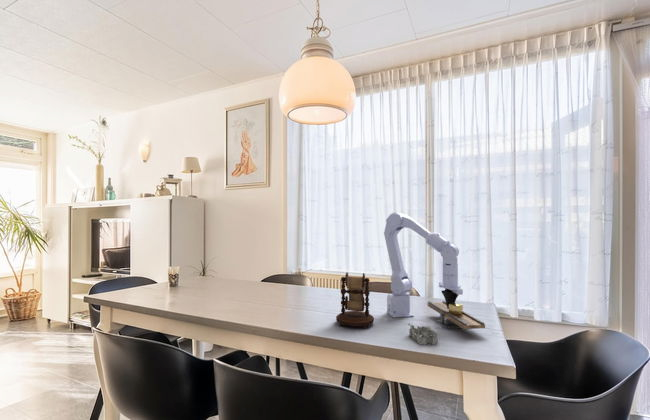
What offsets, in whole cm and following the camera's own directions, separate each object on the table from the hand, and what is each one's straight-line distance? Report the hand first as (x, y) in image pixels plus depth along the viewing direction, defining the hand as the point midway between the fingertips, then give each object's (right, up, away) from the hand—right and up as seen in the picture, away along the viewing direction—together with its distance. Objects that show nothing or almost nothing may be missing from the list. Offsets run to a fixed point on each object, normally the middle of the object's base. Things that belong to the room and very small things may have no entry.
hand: (450, 308), depth 128 cm
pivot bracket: (0, -6, -2) cm, 6 cm away
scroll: (-38, -6, -1) cm, 39 cm away
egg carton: (-16, -5, -17) cm, 24 cm away
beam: (0, -2, -2) cm, 3 cm away
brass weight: (+1, -1, -4) cm, 4 cm away
